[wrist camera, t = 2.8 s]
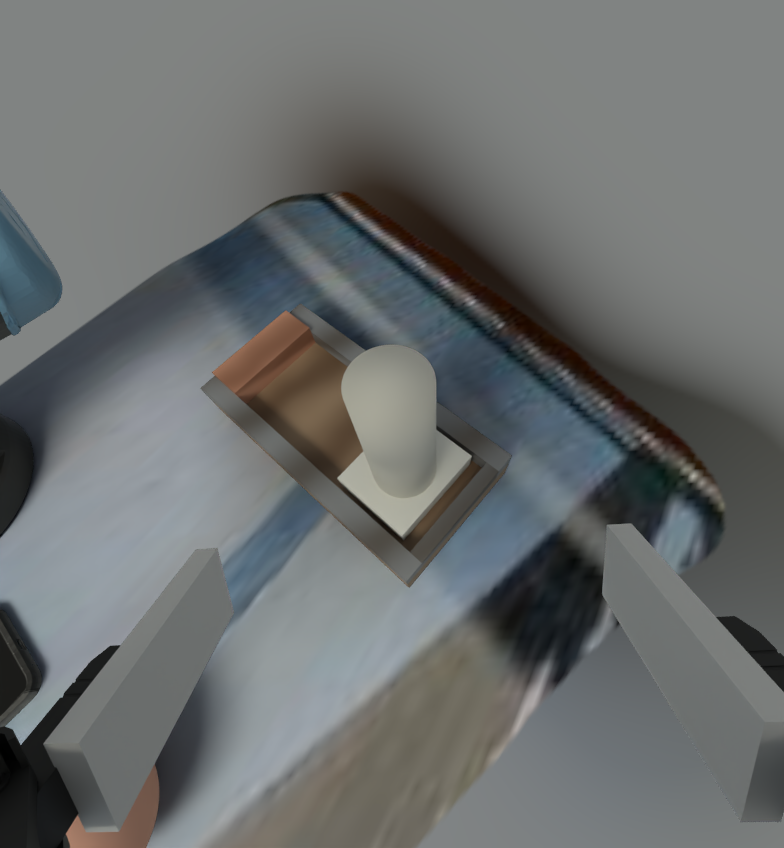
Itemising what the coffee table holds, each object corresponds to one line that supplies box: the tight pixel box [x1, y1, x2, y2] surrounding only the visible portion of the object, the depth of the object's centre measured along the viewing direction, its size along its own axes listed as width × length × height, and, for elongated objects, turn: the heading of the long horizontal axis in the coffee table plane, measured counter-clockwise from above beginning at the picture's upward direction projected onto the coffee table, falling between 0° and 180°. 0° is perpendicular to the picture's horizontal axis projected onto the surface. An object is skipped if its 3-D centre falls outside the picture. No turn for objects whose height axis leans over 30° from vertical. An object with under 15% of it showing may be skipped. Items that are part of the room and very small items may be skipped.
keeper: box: [337, 345, 472, 541], centre depth 26 cm, size 6×7×12 cm
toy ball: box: [66, 764, 159, 848], centre depth 23 cm, size 8×8×8 cm
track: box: [201, 304, 512, 587], centre depth 34 cm, size 22×11×4 cm, turn 48°
